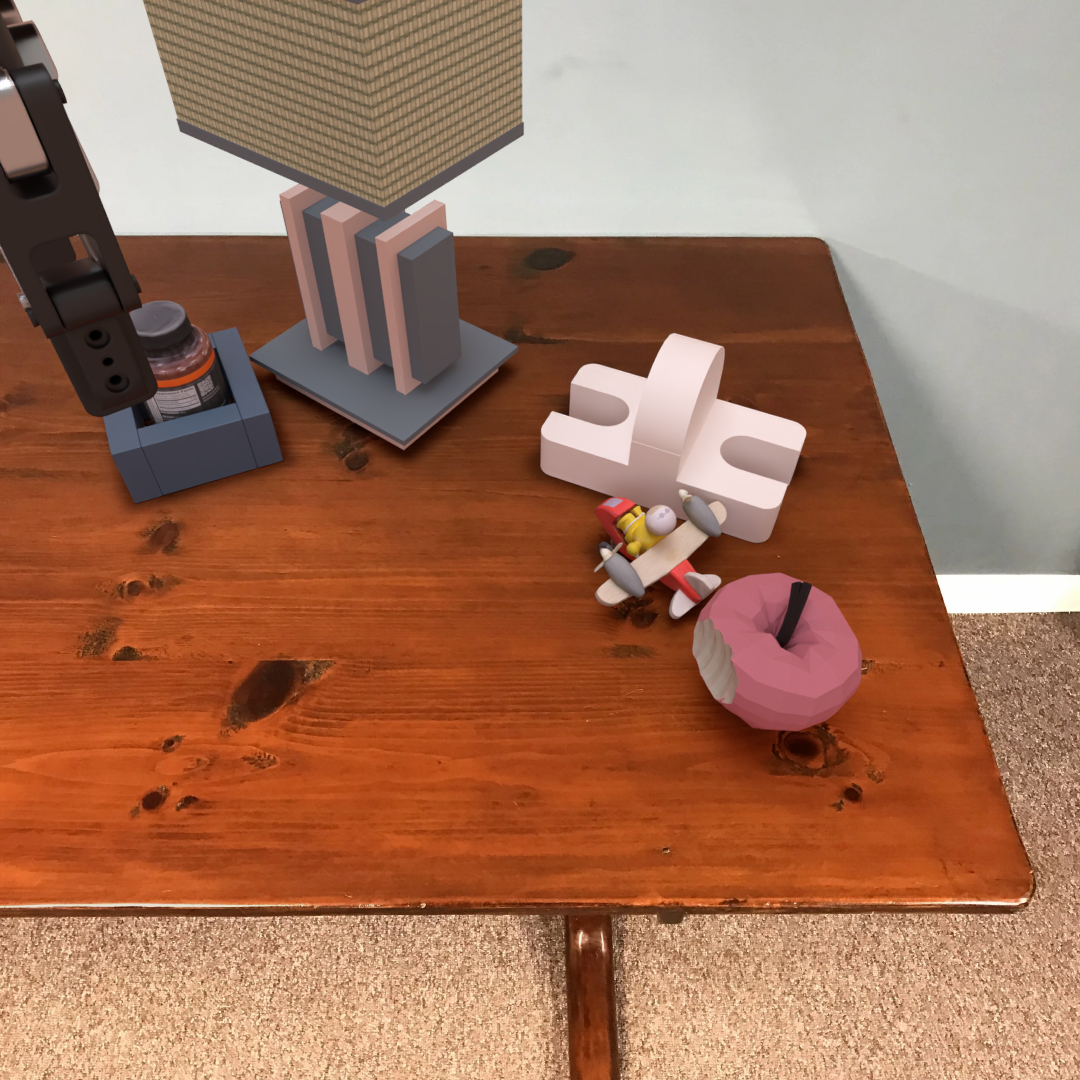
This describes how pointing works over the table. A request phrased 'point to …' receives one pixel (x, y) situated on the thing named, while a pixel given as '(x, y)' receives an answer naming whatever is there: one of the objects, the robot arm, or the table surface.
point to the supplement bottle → (178, 362)
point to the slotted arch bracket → (674, 439)
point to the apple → (777, 652)
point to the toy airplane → (656, 550)
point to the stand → (197, 434)
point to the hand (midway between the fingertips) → (82, 331)
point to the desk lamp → (359, 177)
